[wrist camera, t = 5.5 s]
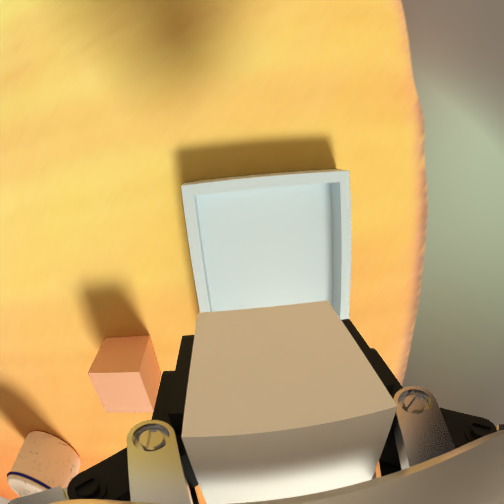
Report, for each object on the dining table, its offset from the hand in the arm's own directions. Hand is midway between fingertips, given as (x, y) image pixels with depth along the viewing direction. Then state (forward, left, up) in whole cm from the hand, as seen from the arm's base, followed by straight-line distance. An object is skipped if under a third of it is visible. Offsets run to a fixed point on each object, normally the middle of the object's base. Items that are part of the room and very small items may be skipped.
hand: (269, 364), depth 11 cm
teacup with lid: (+27, -29, -15) cm, 43 cm away
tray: (+2, +2, -15) cm, 16 cm away
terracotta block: (+9, -11, -15) cm, 21 cm away
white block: (0, 0, 0) cm, 0 cm away
